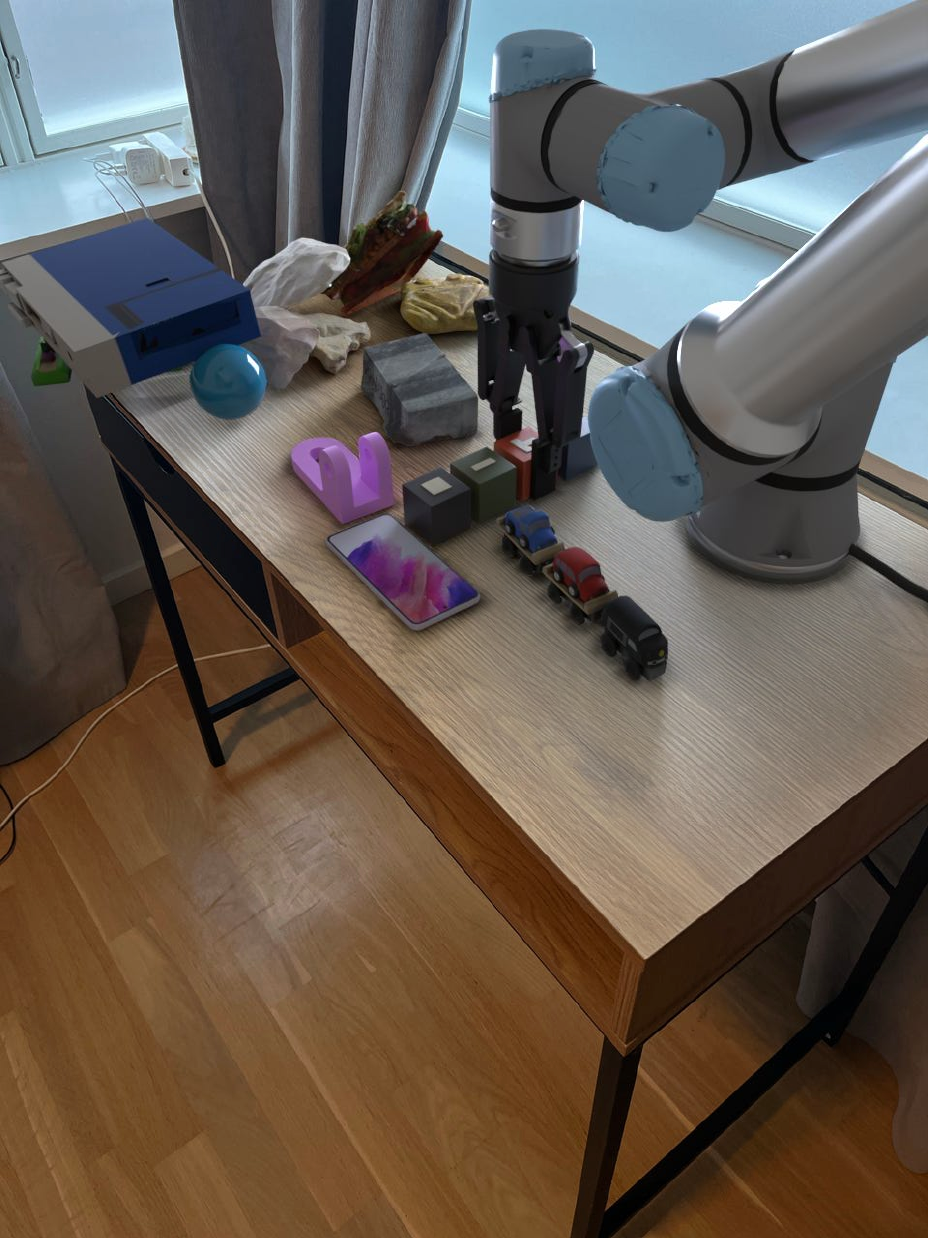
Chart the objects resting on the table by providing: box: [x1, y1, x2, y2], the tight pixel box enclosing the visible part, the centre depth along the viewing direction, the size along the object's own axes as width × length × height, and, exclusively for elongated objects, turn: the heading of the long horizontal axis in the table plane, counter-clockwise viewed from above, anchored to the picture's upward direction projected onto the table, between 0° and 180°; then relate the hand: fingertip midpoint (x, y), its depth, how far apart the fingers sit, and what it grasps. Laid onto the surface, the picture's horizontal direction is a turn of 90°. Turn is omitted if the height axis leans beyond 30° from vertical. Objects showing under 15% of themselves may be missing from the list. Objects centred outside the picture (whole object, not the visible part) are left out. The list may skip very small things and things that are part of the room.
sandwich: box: [319, 190, 444, 317], centre depth 122 cm, size 16×12×8 cm
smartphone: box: [325, 512, 481, 632], centre depth 85 cm, size 7×1×15 cm
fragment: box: [242, 237, 350, 309], centre depth 119 cm, size 15×20×5 cm
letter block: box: [493, 426, 558, 502], centre depth 94 cm, size 4×4×5 cm
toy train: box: [495, 504, 669, 682], centre depth 81 cm, size 4×22×5 cm, turn 31°
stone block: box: [360, 332, 479, 447], centre depth 104 cm, size 9×14×5 cm, turn 24°
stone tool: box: [239, 306, 320, 390], centre depth 111 cm, size 9×5×15 cm
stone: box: [286, 308, 371, 375], centre depth 115 cm, size 13×4×10 cm
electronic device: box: [0, 217, 261, 399], centre depth 108 cm, size 20×5×30 cm
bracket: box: [290, 431, 395, 525], centre depth 94 cm, size 13×6×7 cm, turn 33°
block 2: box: [449, 446, 517, 524], centre depth 92 cm, size 4×4×5 cm
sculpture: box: [400, 272, 491, 335], centre depth 122 cm, size 13×4×15 cm
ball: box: [189, 344, 268, 421], centre depth 103 cm, size 8×8×8 cm
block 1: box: [401, 466, 472, 547], centre depth 89 cm, size 4×4×5 cm
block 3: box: [557, 415, 599, 482], centre depth 97 cm, size 4×4×5 cm
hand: (524, 481), depth 96 cm, fingers closed on letter block, 4 cm apart
